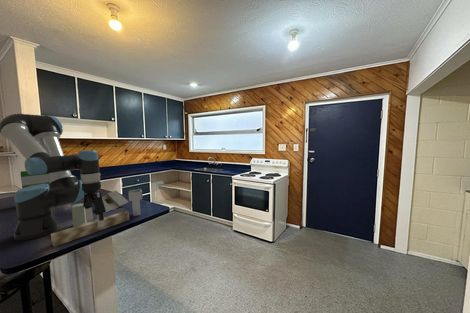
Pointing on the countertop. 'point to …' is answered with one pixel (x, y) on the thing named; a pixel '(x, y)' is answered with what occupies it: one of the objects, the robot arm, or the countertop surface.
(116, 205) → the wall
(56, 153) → the robot arm
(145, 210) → the countertop surface
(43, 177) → the hardback book
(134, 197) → the cup bracket
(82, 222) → the post
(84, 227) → the rail
